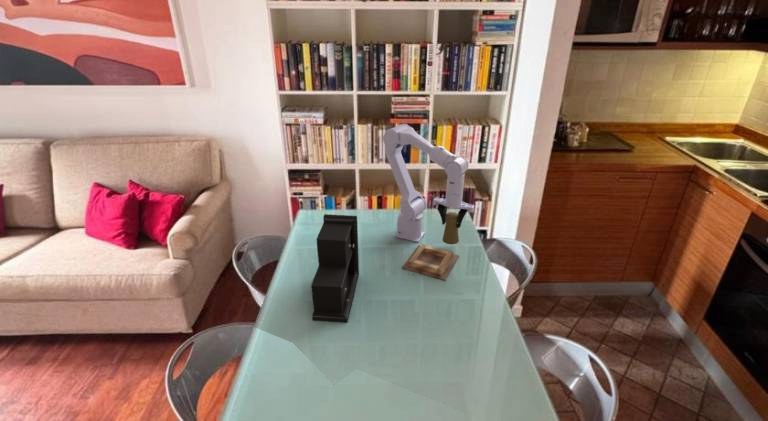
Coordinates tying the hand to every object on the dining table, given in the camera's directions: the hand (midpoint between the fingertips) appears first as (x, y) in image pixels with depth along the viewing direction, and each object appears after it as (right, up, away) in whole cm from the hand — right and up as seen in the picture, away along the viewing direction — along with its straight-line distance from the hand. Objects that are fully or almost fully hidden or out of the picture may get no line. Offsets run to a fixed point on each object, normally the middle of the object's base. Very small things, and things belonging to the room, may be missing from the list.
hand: (451, 225), depth 149 cm
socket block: (-8, -13, -3) cm, 16 cm away
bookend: (-39, -22, -19) cm, 49 cm away
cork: (0, -6, +3) cm, 7 cm away
